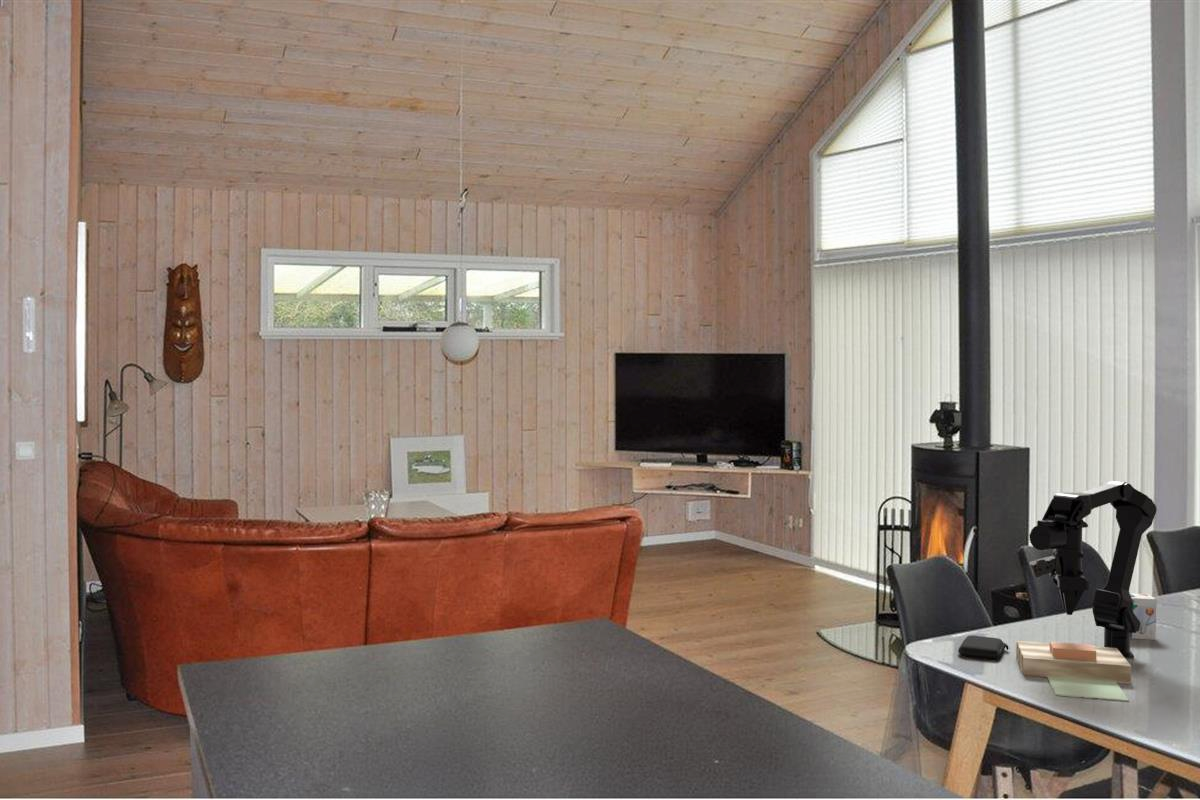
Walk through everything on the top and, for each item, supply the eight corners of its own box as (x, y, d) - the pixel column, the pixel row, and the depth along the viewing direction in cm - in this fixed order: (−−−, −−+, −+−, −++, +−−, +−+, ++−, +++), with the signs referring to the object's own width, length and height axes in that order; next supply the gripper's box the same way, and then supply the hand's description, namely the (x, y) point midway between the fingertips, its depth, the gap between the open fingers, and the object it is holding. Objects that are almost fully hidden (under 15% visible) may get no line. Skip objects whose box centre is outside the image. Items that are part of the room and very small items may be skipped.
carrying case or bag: (1003, 664, 242) (1010, 650, 255) (1004, 651, 242) (1010, 637, 255) (956, 658, 247) (965, 644, 260) (956, 646, 247) (965, 632, 260)
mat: (1047, 677, 230) (1047, 675, 230) (1115, 682, 226) (1115, 681, 226) (1055, 695, 217) (1055, 693, 217) (1128, 701, 213) (1128, 700, 213)
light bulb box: (1112, 638, 267) (1113, 597, 266) (1104, 632, 273) (1105, 591, 273) (1157, 640, 265) (1157, 598, 264) (1148, 633, 271) (1148, 593, 271)
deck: (1016, 657, 247) (1016, 640, 247) (1116, 664, 241) (1116, 648, 241) (1023, 675, 232) (1023, 657, 232) (1130, 683, 226) (1131, 666, 225)
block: (1049, 650, 239) (1049, 641, 239) (1091, 653, 236) (1091, 644, 236) (1052, 656, 233) (1053, 647, 233) (1096, 660, 230) (1096, 651, 230)
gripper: (1027, 539, 253) (1026, 602, 253) (1036, 551, 235) (1035, 619, 235) (1076, 541, 250) (1075, 605, 250) (1089, 554, 232) (1088, 622, 232)
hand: (1067, 612), depth 242 cm, fingers open, 4 cm apart
